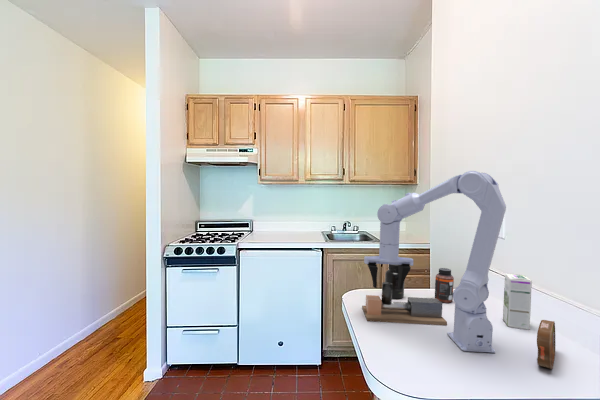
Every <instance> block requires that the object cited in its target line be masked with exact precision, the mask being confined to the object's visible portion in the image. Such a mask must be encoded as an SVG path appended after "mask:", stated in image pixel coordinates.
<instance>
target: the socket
mask: <svg viewBox="0 0 600 400" xmlns="http://www.w3.org/2000/svg"><path fill="white" fill-rule="evenodd" d="M381 304H382V298H381V297H380V295H372V294H366V295H365V305H364V306H365V309H366V311H367V314H373V315H381Z"/></svg>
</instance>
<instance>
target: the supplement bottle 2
mask: <svg viewBox="0 0 600 400" xmlns="http://www.w3.org/2000/svg"><path fill="white" fill-rule="evenodd" d="M454 280H455V277H454V276H453V275H452V270H451V268H447V267H440V268H438V273H437V274H436V275H435V282H434V298H436V299H438V300H439V301H440V302H441V303H445V304H447V303H448V304H450V303H452V302H453V301H454V300H453V292H454V283H455V281H454Z"/></svg>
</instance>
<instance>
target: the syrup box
mask: <svg viewBox="0 0 600 400" xmlns="http://www.w3.org/2000/svg"><path fill="white" fill-rule="evenodd" d="M532 281H533V280H531V279H530V278H529V277H527V276H526V275H522V274H514V273H512V274H511V273H505V274H504V285H503V286H504V287H503V288H504V289H503V290H504V291H503V304H502V305H503V309H502V311H503V312H502V320H503V321H504V323H505V324H506V326H507V327H509V328H513V329H520V330H528V331H529V330H530V328H531V327H530V326H531V313H532V312H531V309H532V308H531V307H532V287H533V286H532V283H533V282H532Z"/></svg>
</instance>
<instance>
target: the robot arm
mask: <svg viewBox="0 0 600 400" xmlns="http://www.w3.org/2000/svg"><path fill="white" fill-rule="evenodd" d="M451 194H463V195H464V196H466V197H467V198H469V199H470V200H471V201H473V202H474V203H475V205H476V207H477V208H478V209H479V210H480V212H481V213H480V216H479V220H478V223H477V227H476V231H475V235H474V239H473V242H472V245H471V246H472V247H471V250H470V254H469V258H468V262H467V265H466V268H465V271H464V273H463V275H462V277H461V279H460V282H459V285H458V286H457V287H455V289H453V300H452V301H453V303H454V313H453V315H454V317H453V318H454V319H453V332H451V331H447V333H446V334H447V335H448V337H449V338H451V340H452V341H453V342H454V343H455V345H456V346H457V347H458V348H459V349H460V351H463V352H476V353H477V352H478V353H479V352H480V353H496V349H494V348H493V347H492V346H493V344H492V343H493V331H494V329H493V328H494V327H493V324H492V323H491V321H490V319H489V318H488V315H487V307H486V304H485V302H486V301H487V300H488V298H489V294H490V290H489V287H488V284H489V271H490V268H491V264H492V260H493V257H494V254H495V250H496V245H497V243H498V239H499V235H500V232H501V229H502V225H503V221H504V219H505V218H504V217H505V214H506V210H507V205H506V203H505V200H504V198H503V195H502V193H501V189H500V187H499V183H498V182H497V180H495V179H494V177H492V176H491V174H488V173H487V172H480V171H477V170H468V171H466V172H464V173H462V174H458V175H455V176H453V177H451V178H448V179H446V180H444V181H442V182H441V183H439V184H436V185H435V186H434V187H433V186H432V187H431V188H429V189H427V190H425V191H423V192H422V193H417V192H407V193H405V194H404V195H405V196H403V197H401V198H399V199H393V200H391V203H390V204H388V203H384V204H382V205H381V206H379V208H378V209H377V214H376V215H377V219H378V221H379V222H380V223H379V224H380V225H379V228H380V229H379V252H378V255H372V256H371V255H370V256H367V255H365V256H364V257H363V258H364V259H363V263H364V264H365V265H367V267H368V269H369V272H370V274H371V279H372V280H371V281H372V286H373V288H374V289H377V287H378V282H377V281H378V280H377V279H378V278H377V277H378V269H379V268H378V264H379V265H389V264H395V265H398V269H399V278H398V288H399V289H402V287H403V283H404V284H405V281H404V280H406V278H407V276H408V274H409V272H410V271H411V267H412V266H413V267H414V261H415V260H414V259H413V258H411V257H403V256H402V257H400V256H399V250H400V225H401V222H402V220H403V219H406V218H408V217H410V216H413V215H415V214H417V213H420V212H422V211H423V210H424V208H425V206H426V205H427V204H429V203H432V202H435V201H437V200H439V199H442V198H445V197H446V196H448V195H451Z"/></svg>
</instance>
